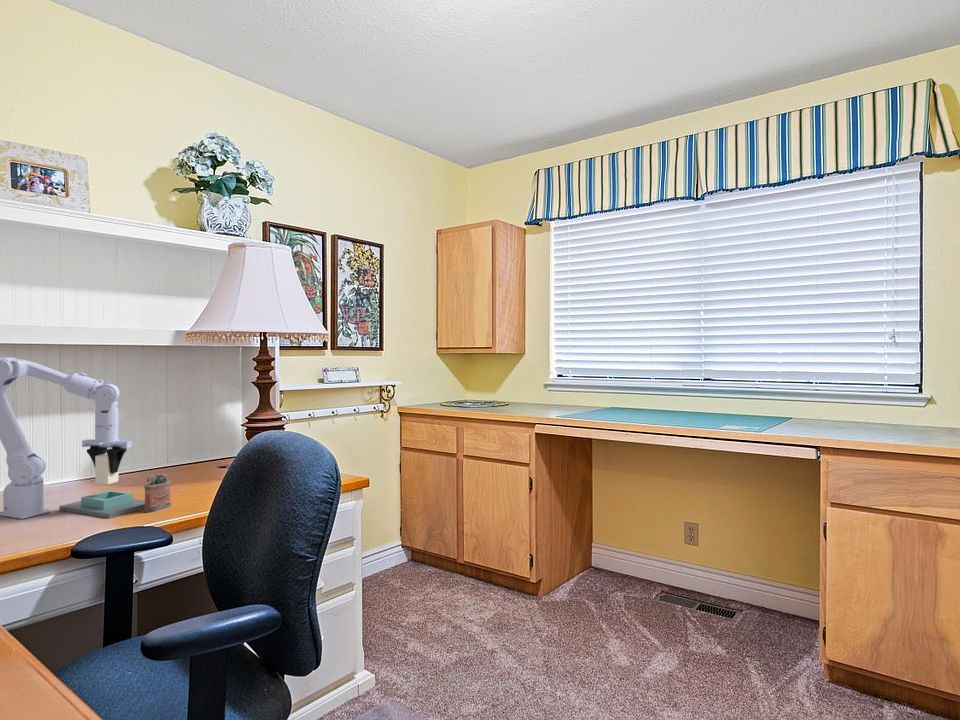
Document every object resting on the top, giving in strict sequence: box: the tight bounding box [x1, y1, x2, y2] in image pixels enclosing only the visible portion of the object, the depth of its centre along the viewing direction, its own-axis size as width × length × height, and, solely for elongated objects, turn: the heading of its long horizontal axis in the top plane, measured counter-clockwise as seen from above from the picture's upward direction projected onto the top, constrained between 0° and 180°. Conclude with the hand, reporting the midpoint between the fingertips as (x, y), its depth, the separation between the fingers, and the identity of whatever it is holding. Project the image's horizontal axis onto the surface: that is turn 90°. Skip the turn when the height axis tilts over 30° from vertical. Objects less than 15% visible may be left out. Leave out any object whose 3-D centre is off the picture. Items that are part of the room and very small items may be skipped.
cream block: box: [94, 452, 119, 485], centre depth 173 cm, size 4×4×8 cm
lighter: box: [143, 473, 172, 513], centre depth 173 cm, size 8×3×10 cm, turn 159°
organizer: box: [58, 490, 145, 519], centre depth 173 cm, size 20×14×4 cm
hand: (106, 472), depth 173 cm, fingers closed on cream block, 4 cm apart
